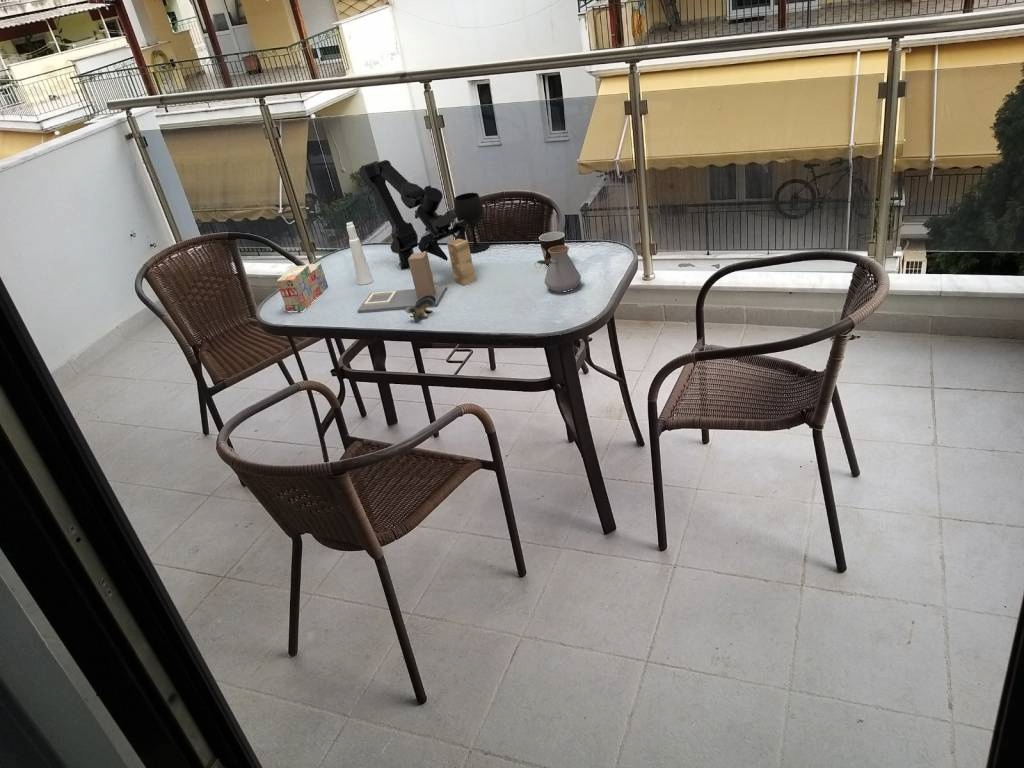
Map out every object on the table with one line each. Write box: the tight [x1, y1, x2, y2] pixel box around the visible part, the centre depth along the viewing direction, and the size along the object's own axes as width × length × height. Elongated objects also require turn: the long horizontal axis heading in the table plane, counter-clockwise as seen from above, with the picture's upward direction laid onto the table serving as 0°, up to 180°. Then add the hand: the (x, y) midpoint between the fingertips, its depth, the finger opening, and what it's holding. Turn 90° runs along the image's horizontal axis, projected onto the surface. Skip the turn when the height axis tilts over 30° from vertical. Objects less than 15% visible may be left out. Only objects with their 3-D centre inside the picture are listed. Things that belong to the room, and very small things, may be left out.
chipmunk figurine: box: [404, 295, 436, 324], centre depth 236 cm, size 8×7×9 cm
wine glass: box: [453, 192, 491, 255], centre depth 281 cm, size 10×10×20 cm
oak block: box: [447, 239, 477, 286], centre depth 255 cm, size 5×5×14 cm
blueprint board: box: [356, 252, 448, 314], centre depth 249 cm, size 14×27×15 cm, turn 81°
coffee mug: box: [538, 231, 566, 267], centre depth 258 cm, size 12×9×10 cm
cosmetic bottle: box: [346, 221, 375, 286], centre depth 269 cm, size 6×6×22 cm
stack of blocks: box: [276, 263, 329, 312], centre depth 265 cm, size 21×6×12 cm, turn 169°
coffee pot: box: [534, 245, 582, 293], centre depth 233 cm, size 21×12×15 cm, turn 154°
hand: (457, 255), depth 255 cm, fingers open, 9 cm apart
